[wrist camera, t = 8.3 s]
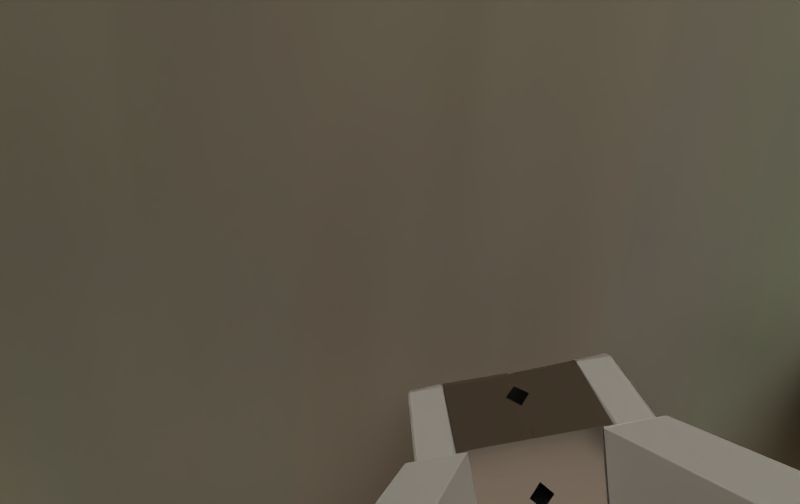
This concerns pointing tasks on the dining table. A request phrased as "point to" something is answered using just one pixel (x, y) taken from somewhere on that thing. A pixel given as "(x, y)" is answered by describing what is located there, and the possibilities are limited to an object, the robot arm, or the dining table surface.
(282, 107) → the dining table surface
